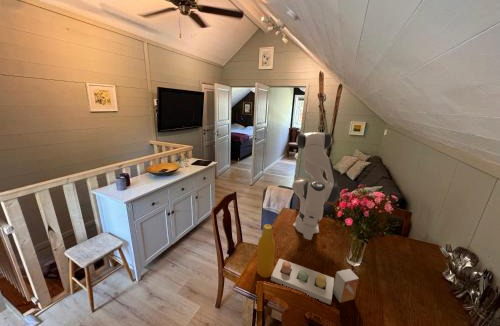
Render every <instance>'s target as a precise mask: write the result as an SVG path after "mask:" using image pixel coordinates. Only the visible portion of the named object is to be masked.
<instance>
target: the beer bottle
mask: <svg viewBox="0 0 500 326" xmlns="http://www.w3.org/2000/svg"><path fill="white" fill-rule="evenodd" d="M275 252H276V243H275V238H274V237H273V226H272V225H271V224H269V223H266V224H264V225H263V229H262V234H261V236H260V238H259V239H258V242H257V255H256V256H257V259H256V272H257V275H259V276H260V277H262V278H264V279H265V278H269V277H270V278H271V275H272V273H273V271H274V268H275V267H274V266H275V265H274V264H275Z"/></svg>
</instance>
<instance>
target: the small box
mask: <svg viewBox="0 0 500 326" xmlns="http://www.w3.org/2000/svg"><path fill="white" fill-rule="evenodd" d="M359 280H360V278H359V277H358V276H357V274H355V272H354V271H353V270H352V269H351V268H347V269H341V270H339V271H338V270H337V271H336V273H335V278H334V284H333V293H332V295H334V296H335V298H336V299H337V300H338V302H339V303H340V304H342V303H346V302H348V301H352V300H354V299H355V296H356V292H357V288H358V284H359Z"/></svg>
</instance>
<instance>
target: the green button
mask: <svg viewBox="0 0 500 326" xmlns="http://www.w3.org/2000/svg"><path fill="white" fill-rule="evenodd" d="M307 276H308V274H307V272H306V271H303V270H301V271H299V273H298V278H297V279H298V280H301V281H303V282H306V283H307V280H308V279H307Z"/></svg>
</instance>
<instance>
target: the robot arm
mask: <svg viewBox="0 0 500 326" xmlns="http://www.w3.org/2000/svg"><path fill="white" fill-rule="evenodd" d="M295 141H296V146H297V148H299V149H301V150H303V149H304V154H303V155H304V156H303V159H304V160H303V171H304V172H305V173H306V174H307V175H309V176H310V177H311V179H308V178H307V179H305V178H301V179H296V180H294V181H293V182H292V185H291V188H292V189H291V190H292V191H293V193H294V194H295V195H296V196H297V197H298V198H299V201H300V205H299V207H300V209H299V211H298V215H297V216H296V218H295V222H294V223H293V224H292V226H293V227H294V228H295V229H296V231H297V232H299V233H301V234H303V238H304V239H306V240H309V241H310V240H312V238H313V235H314V234H319V233H320V229H319V222H320V221H321V220H322V218H323V214H324V205H325V202H326V203H330V204H334V203H335V202H338V201H339V200H340V198H341V189H340V187H339V186H340V185H339V184H338V180H337V177H336V172H335V169H334V168H335V167H334V165H333V162H332V159H331V158H330V157H328V154H326V151H325V150H328V149H330V147H331V145H332V143H333V138H332V135H331V134H330V133H329V132H319V131H317V132H316V131H314V132H300V133H299V134H297V137H296V140H295ZM321 170H323V171H324V173H325V176H326V178H324V177H323V174H322V171H321Z"/></svg>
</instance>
